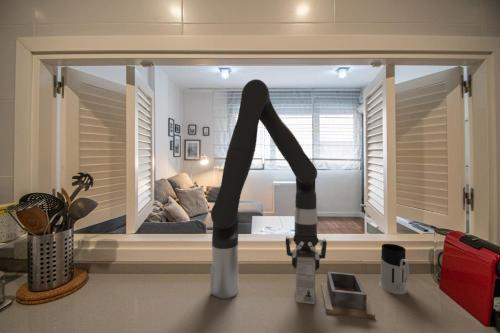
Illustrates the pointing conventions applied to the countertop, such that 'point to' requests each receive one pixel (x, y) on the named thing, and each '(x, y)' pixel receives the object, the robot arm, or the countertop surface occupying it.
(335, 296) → the dock
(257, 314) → the countertop surface
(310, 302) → the coffee box
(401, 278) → the glass holder
